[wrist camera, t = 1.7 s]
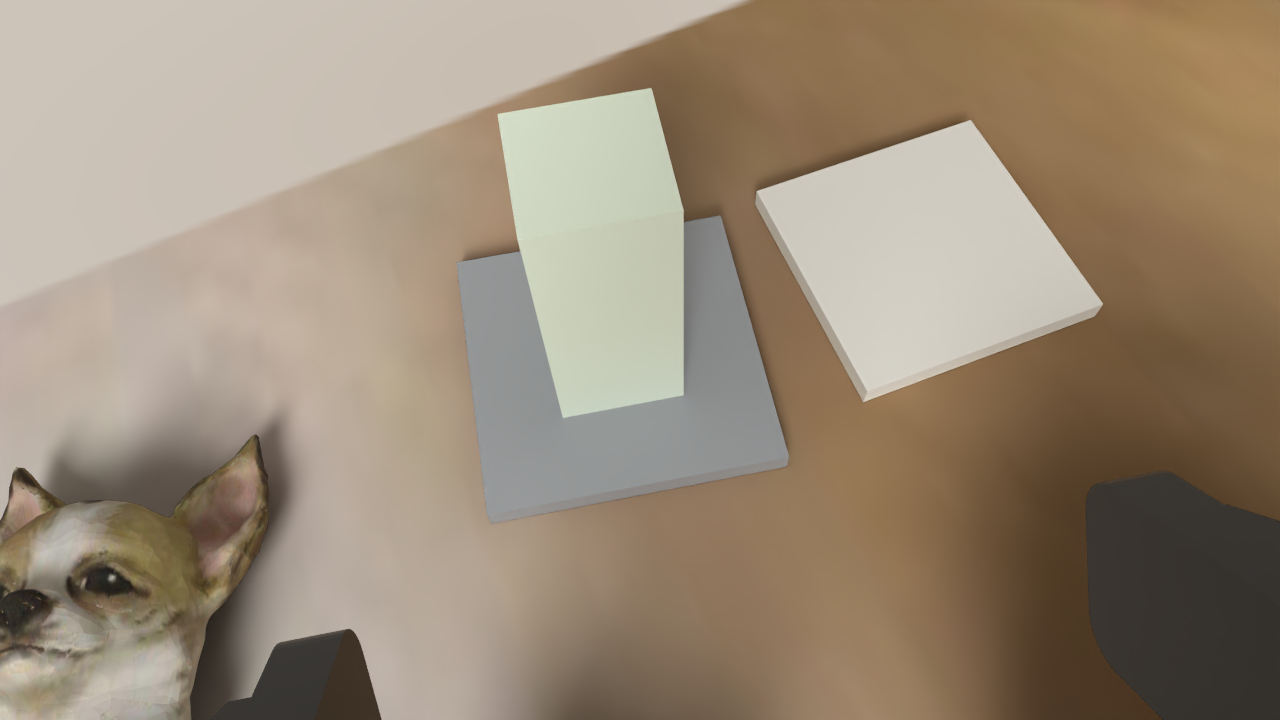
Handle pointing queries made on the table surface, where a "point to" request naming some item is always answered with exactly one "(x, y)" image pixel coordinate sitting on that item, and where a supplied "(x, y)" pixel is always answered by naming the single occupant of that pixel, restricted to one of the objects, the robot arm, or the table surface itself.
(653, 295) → the pale green pillar
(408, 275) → the table surface
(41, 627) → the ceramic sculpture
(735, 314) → the post stand
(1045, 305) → the mat
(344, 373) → the table surface
